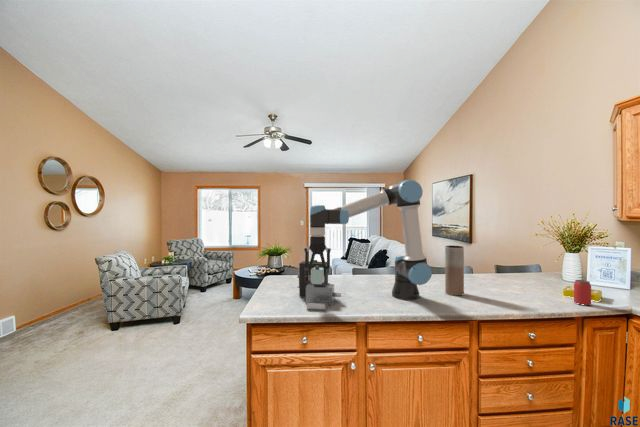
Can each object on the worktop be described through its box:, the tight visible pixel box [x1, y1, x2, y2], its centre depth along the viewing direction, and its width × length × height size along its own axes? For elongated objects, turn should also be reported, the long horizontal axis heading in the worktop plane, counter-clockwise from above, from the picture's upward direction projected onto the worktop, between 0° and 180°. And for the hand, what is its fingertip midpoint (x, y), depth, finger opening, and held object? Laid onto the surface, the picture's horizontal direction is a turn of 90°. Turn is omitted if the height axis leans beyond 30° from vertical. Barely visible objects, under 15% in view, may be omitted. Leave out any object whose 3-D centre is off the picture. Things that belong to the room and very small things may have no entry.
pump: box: [312, 266, 323, 284], centre depth 145 cm, size 5×6×8 cm
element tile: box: [562, 285, 603, 301], centre depth 162 cm, size 15×15×5 cm
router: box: [296, 259, 331, 298], centre depth 167 cm, size 8×18×20 cm, turn 78°
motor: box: [305, 283, 342, 312], centre depth 148 cm, size 18×16×12 cm
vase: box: [444, 245, 465, 296], centre depth 170 cm, size 10×10×28 cm
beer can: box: [573, 279, 592, 306], centre depth 149 cm, size 7×7×12 cm
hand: (317, 281), depth 145 cm, fingers closed on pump, 5 cm apart
